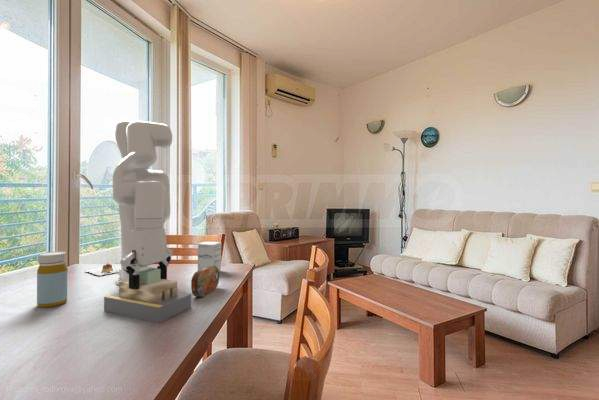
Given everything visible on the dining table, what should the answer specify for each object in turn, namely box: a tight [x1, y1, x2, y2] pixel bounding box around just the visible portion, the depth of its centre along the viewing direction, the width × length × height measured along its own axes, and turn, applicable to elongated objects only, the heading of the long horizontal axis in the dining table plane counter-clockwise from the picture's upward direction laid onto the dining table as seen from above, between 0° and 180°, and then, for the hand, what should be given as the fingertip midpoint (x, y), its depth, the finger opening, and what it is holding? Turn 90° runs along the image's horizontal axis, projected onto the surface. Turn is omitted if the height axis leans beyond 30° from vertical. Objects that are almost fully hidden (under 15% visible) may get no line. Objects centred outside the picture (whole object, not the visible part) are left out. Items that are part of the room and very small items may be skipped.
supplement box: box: [197, 241, 222, 272], centre depth 132 cm, size 7×7×13 cm
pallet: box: [118, 278, 178, 303], centre depth 88 cm, size 14×8×4 cm, turn 69°
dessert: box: [85, 261, 121, 277], centre depth 130 cm, size 12×12×5 cm
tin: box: [190, 266, 220, 298], centre depth 104 cm, size 15×3×8 cm, turn 168°
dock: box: [103, 291, 192, 324], centre depth 88 cm, size 20×12×4 cm, turn 69°
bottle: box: [36, 251, 68, 309], centre depth 91 cm, size 7×7×15 cm
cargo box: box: [138, 267, 161, 285], centre depth 88 cm, size 5×4×3 cm
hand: (148, 284), depth 88 cm, fingers open, 9 cm apart
